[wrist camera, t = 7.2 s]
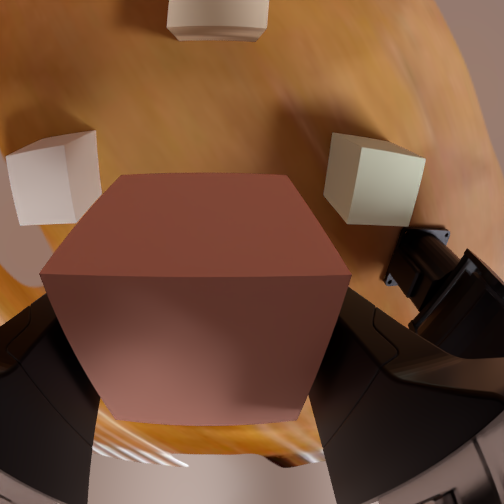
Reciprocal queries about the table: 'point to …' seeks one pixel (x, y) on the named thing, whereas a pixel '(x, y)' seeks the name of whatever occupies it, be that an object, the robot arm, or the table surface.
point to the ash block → (217, 19)
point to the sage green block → (372, 180)
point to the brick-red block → (199, 297)
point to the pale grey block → (55, 178)
